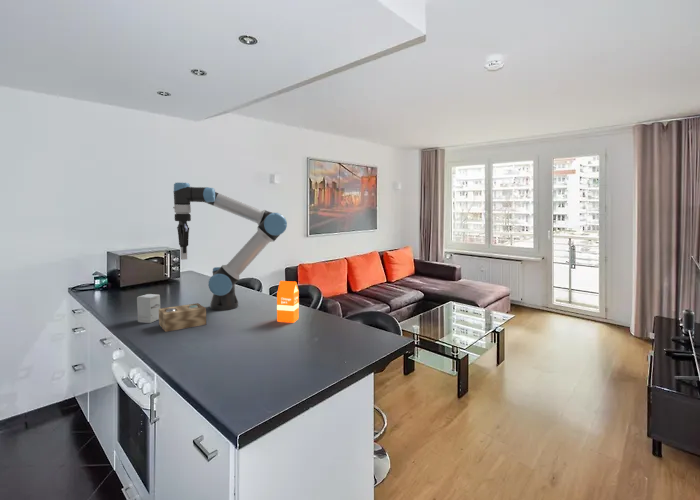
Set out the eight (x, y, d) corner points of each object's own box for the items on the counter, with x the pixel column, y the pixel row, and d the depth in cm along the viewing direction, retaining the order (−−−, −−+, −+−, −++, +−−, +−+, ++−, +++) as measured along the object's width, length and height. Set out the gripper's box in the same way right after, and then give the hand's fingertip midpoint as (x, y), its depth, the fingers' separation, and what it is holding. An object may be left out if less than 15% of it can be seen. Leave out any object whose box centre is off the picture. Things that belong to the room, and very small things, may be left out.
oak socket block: (198, 318, 185) (197, 303, 184) (206, 324, 176) (205, 308, 175) (159, 325, 173) (158, 308, 173) (165, 331, 164) (164, 314, 163)
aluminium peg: (175, 324, 174) (174, 307, 173) (177, 326, 171) (176, 309, 170) (165, 326, 172) (165, 309, 171) (168, 328, 169) (167, 310, 168)
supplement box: (150, 323, 176) (149, 297, 175) (137, 322, 178) (136, 296, 176) (161, 319, 183) (160, 294, 182) (148, 318, 185) (147, 293, 184)
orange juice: (293, 323, 180) (293, 283, 178) (276, 321, 182) (276, 282, 180) (298, 318, 188) (298, 280, 186) (282, 317, 189) (282, 279, 187)
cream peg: (196, 321, 180) (196, 304, 180) (199, 323, 177) (198, 306, 177) (188, 322, 178) (187, 305, 177) (190, 324, 175) (190, 307, 174)
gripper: (171, 213, 189) (172, 258, 191) (178, 213, 179) (179, 261, 181) (186, 213, 193) (188, 257, 196) (194, 213, 183) (195, 260, 186)
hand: (184, 259), depth 188 cm, fingers closed
